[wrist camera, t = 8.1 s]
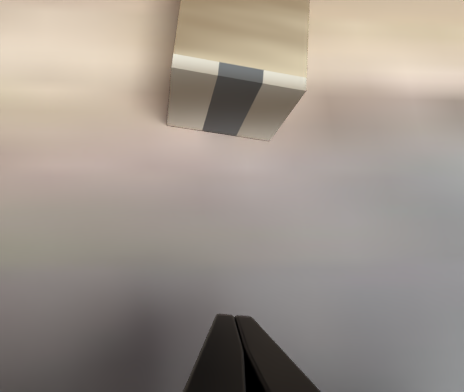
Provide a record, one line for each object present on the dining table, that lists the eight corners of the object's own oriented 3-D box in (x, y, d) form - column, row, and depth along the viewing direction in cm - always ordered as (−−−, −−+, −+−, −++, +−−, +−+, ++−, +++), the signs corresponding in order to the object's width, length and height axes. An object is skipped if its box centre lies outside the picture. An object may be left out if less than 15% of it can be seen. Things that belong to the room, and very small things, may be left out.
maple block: (305, 90, 14) (314, -114, 16) (171, 67, 13) (200, -144, 15) (269, 141, 18) (280, -27, 20) (167, 125, 17) (190, -46, 20)
